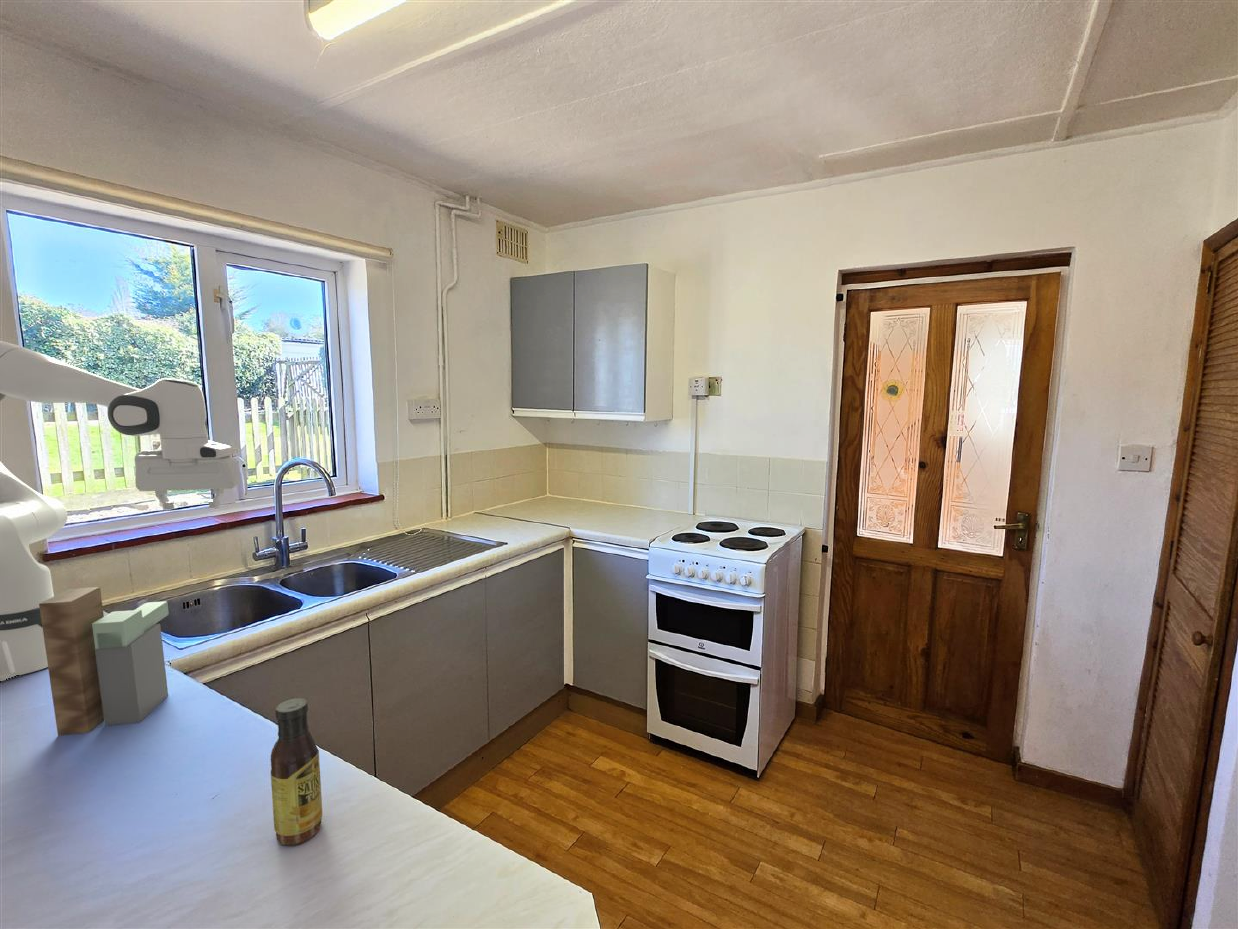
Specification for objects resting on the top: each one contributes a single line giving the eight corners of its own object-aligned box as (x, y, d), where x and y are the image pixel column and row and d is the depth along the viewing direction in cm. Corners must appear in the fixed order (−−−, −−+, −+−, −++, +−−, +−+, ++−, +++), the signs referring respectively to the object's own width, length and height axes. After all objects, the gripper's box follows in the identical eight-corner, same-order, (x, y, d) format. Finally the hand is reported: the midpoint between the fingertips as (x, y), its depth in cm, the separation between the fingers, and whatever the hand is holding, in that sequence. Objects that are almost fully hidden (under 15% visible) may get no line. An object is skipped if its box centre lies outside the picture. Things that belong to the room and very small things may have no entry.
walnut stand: (57, 735, 109) (39, 603, 106) (87, 712, 117) (70, 588, 113) (88, 732, 110) (71, 601, 107) (115, 709, 118) (100, 586, 114)
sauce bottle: (308, 849, 83) (298, 719, 80) (265, 848, 83) (253, 719, 80) (332, 815, 89) (323, 694, 86) (292, 814, 89) (282, 694, 86)
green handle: (95, 648, 110) (92, 623, 109) (145, 616, 125) (142, 593, 124) (125, 646, 111) (122, 621, 110) (171, 614, 126) (168, 592, 125)
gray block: (104, 725, 112) (94, 647, 110) (135, 698, 122) (127, 626, 120) (140, 721, 114) (130, 644, 111) (168, 695, 123) (160, 623, 121)
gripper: (125, 452, 128) (132, 513, 130) (228, 450, 132) (233, 509, 134) (142, 449, 134) (148, 507, 136) (240, 447, 138) (245, 504, 140)
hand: (191, 508), depth 135 cm, fingers open, 8 cm apart
